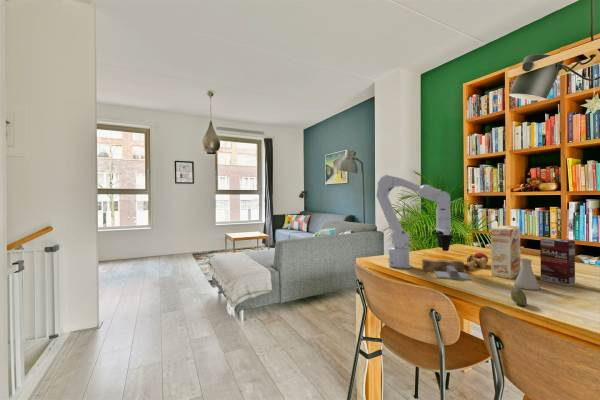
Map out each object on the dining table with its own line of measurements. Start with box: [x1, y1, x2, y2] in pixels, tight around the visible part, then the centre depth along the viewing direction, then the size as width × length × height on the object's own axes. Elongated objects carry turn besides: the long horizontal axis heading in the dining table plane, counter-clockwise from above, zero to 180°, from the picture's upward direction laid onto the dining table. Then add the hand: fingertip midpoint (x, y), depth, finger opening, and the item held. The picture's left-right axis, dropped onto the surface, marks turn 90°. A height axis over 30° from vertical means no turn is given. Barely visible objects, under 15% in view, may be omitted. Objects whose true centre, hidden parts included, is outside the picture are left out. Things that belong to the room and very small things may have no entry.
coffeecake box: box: [490, 225, 521, 280], centre depth 115 cm, size 15×7×20 cm, turn 129°
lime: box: [510, 287, 528, 307], centre depth 82 cm, size 4×5×5 cm
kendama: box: [464, 252, 489, 272], centre depth 126 cm, size 8×6×18 cm
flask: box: [513, 257, 541, 291], centre depth 98 cm, size 7×7×10 cm
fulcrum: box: [433, 266, 473, 281], centre depth 113 cm, size 12×9×3 cm
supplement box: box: [539, 237, 576, 287], centre depth 102 cm, size 9×5×16 cm, turn 23°
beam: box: [421, 258, 465, 273], centre depth 122 cm, size 16×4×4 cm, turn 73°
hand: (443, 249), depth 122 cm, fingers open, 7 cm apart
